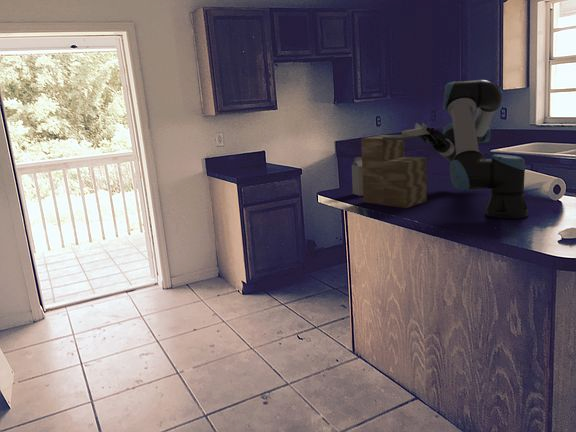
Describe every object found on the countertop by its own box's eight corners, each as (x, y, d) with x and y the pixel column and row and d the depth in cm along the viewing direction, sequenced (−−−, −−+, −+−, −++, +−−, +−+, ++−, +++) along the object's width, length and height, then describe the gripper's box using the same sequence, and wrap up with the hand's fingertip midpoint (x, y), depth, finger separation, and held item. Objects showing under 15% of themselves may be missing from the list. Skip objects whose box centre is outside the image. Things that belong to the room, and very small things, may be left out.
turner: (401, 140, 211) (401, 133, 210) (382, 139, 218) (382, 133, 218) (437, 133, 228) (437, 127, 227) (418, 133, 235) (418, 127, 235)
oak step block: (384, 196, 245) (383, 134, 238) (426, 201, 228) (426, 135, 221) (363, 202, 235) (361, 138, 228) (405, 208, 217) (404, 139, 211)
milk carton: (371, 194, 252) (370, 156, 247) (359, 196, 249) (358, 158, 245) (364, 192, 258) (363, 155, 254) (352, 194, 256) (351, 157, 251)
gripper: (456, 153, 236) (431, 133, 220) (427, 152, 247) (402, 133, 232) (460, 139, 237) (436, 117, 221) (431, 138, 248) (406, 118, 233)
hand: (419, 125), depth 226 cm, fingers closed on turner, 3 cm apart
